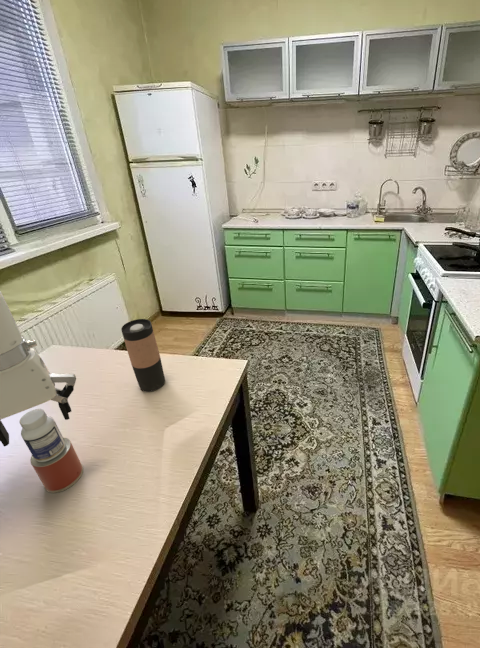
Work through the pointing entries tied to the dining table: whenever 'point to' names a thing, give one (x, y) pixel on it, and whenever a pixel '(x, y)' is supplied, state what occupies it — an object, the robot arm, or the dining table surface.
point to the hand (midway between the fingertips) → (38, 427)
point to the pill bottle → (41, 435)
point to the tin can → (59, 469)
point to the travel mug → (144, 354)
